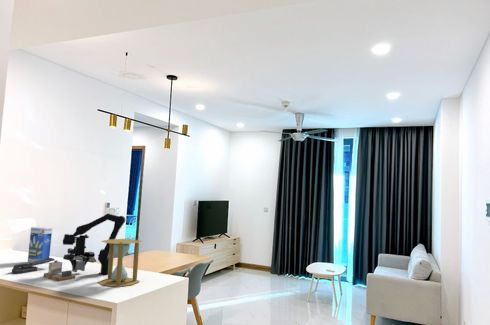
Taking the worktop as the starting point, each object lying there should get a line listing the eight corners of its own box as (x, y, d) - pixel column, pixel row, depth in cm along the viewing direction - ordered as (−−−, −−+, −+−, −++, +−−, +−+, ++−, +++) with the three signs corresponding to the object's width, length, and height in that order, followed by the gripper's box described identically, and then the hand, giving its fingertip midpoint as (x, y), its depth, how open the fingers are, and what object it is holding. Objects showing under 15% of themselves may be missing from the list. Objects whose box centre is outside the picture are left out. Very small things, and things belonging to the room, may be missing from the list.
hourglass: (146, 281, 217) (149, 240, 219) (116, 289, 198) (120, 244, 200) (120, 276, 229) (123, 237, 231) (90, 282, 210) (93, 240, 212)
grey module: (84, 270, 232) (85, 261, 233) (75, 272, 227) (76, 262, 228) (80, 269, 235) (81, 260, 235) (72, 271, 230) (72, 261, 230)
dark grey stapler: (56, 258, 245) (17, 264, 224) (55, 268, 244) (16, 274, 223) (48, 257, 250) (10, 262, 229) (48, 266, 249) (9, 272, 228)
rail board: (75, 278, 219) (76, 262, 220) (59, 281, 210) (60, 264, 211) (59, 274, 229) (60, 258, 230) (43, 276, 221) (45, 260, 221)
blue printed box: (27, 262, 260) (30, 227, 263) (35, 260, 267) (39, 226, 270) (41, 264, 256) (44, 228, 259) (49, 262, 264) (52, 227, 266)
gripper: (86, 242, 245) (84, 265, 243) (59, 244, 229) (57, 269, 228) (95, 244, 239) (94, 267, 237) (69, 246, 223) (67, 272, 222)
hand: (78, 269), depth 231 cm, fingers closed on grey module, 6 cm apart
